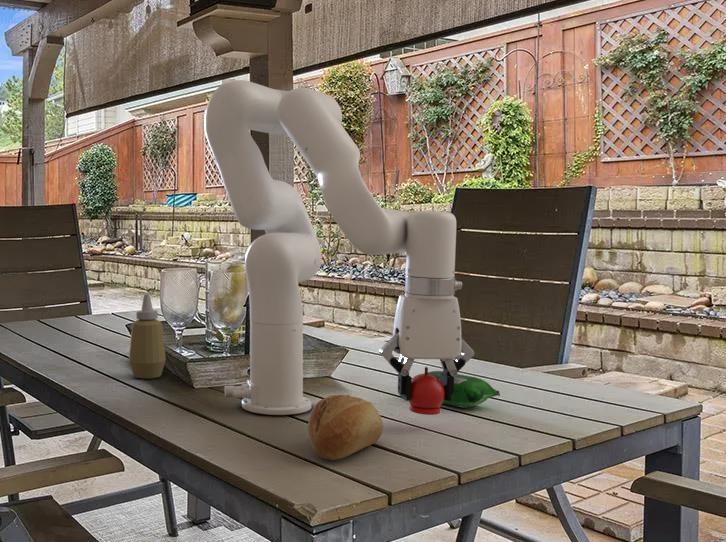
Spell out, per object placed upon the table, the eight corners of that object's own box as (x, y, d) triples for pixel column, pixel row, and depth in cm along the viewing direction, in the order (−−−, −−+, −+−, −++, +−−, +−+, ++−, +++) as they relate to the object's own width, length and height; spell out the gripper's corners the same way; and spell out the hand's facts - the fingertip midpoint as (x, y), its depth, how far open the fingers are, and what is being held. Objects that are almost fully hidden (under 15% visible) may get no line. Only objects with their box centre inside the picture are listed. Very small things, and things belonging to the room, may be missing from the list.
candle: (413, 415, 118) (415, 370, 118) (400, 405, 124) (401, 363, 124) (450, 416, 119) (452, 371, 119) (435, 406, 125) (437, 363, 125)
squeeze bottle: (164, 380, 160) (164, 296, 160) (126, 380, 160) (126, 296, 160) (166, 372, 168) (166, 292, 168) (130, 373, 169) (130, 292, 168)
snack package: (478, 415, 131) (478, 385, 131) (406, 397, 143) (406, 370, 143) (502, 409, 135) (502, 380, 135) (429, 393, 147) (430, 366, 147)
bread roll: (291, 459, 106) (291, 403, 106) (334, 434, 119) (334, 384, 119) (355, 471, 101) (355, 412, 101) (393, 444, 113) (393, 391, 113)
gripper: (470, 286, 125) (466, 393, 126) (369, 284, 124) (366, 393, 125) (492, 291, 118) (487, 405, 119) (384, 289, 116) (380, 404, 117)
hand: (425, 397), depth 122 cm, fingers closed on candle, 6 cm apart
